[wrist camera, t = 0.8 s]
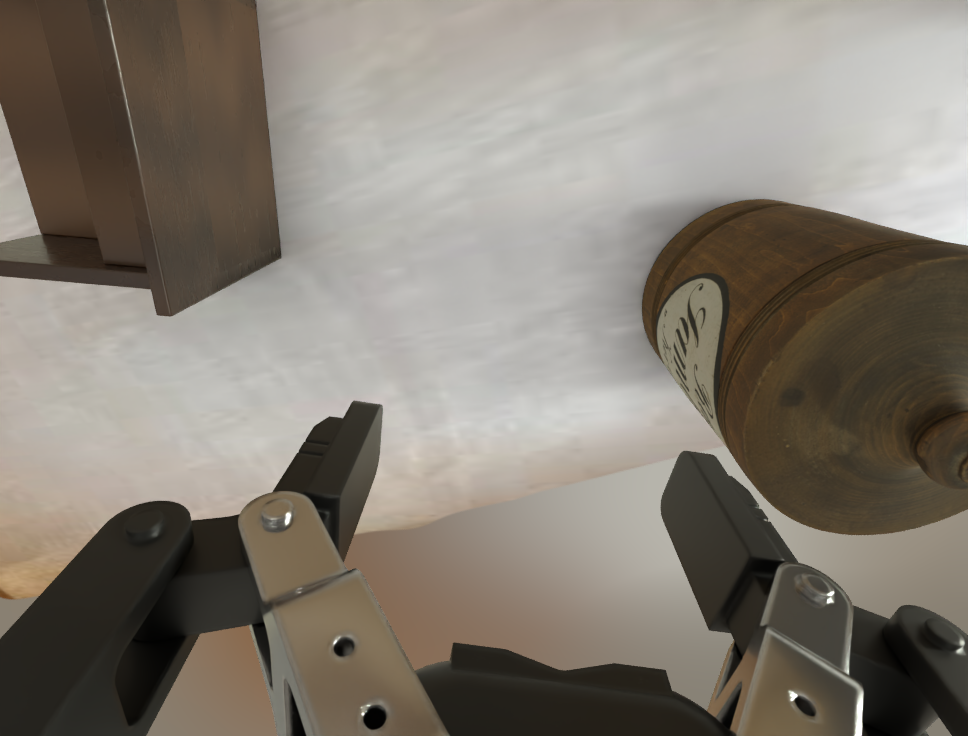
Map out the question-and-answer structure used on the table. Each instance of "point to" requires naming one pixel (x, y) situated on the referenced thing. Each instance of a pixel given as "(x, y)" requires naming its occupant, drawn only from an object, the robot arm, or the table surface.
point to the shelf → (139, 144)
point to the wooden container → (823, 359)
